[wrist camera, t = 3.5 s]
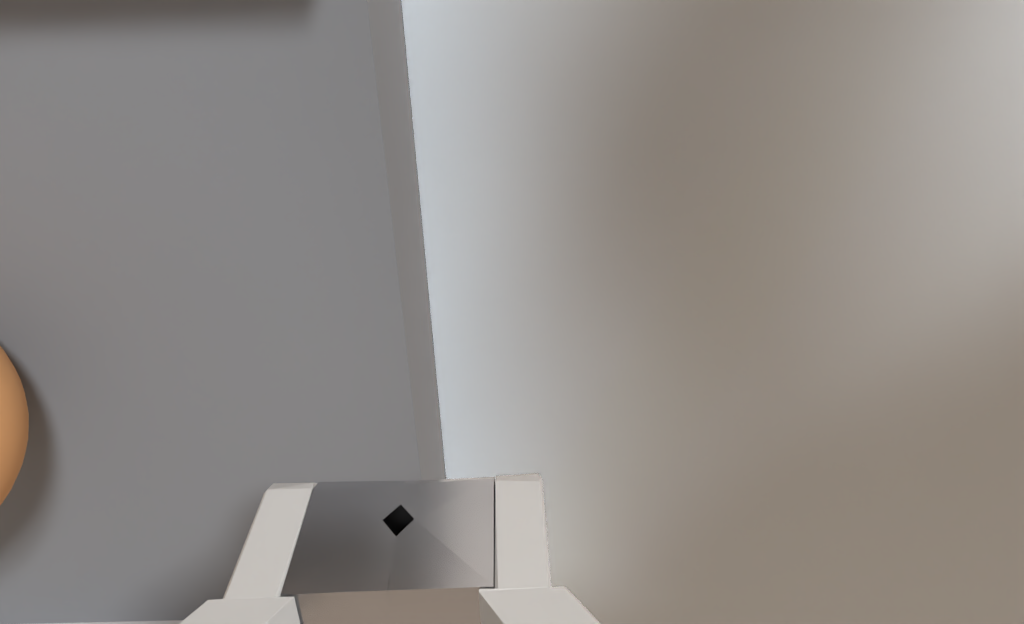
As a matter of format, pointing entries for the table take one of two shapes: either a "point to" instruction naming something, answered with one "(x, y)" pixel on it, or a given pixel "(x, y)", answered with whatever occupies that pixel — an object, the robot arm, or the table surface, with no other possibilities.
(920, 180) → the table surface
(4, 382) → the ball
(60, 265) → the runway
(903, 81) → the table surface
